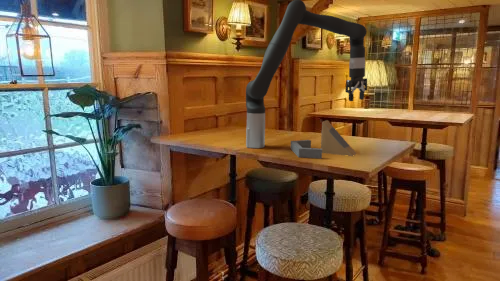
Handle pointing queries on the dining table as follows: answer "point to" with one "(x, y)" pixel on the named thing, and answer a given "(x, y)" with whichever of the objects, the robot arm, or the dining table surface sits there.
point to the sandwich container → (334, 141)
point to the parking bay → (305, 149)
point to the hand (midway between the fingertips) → (356, 100)
